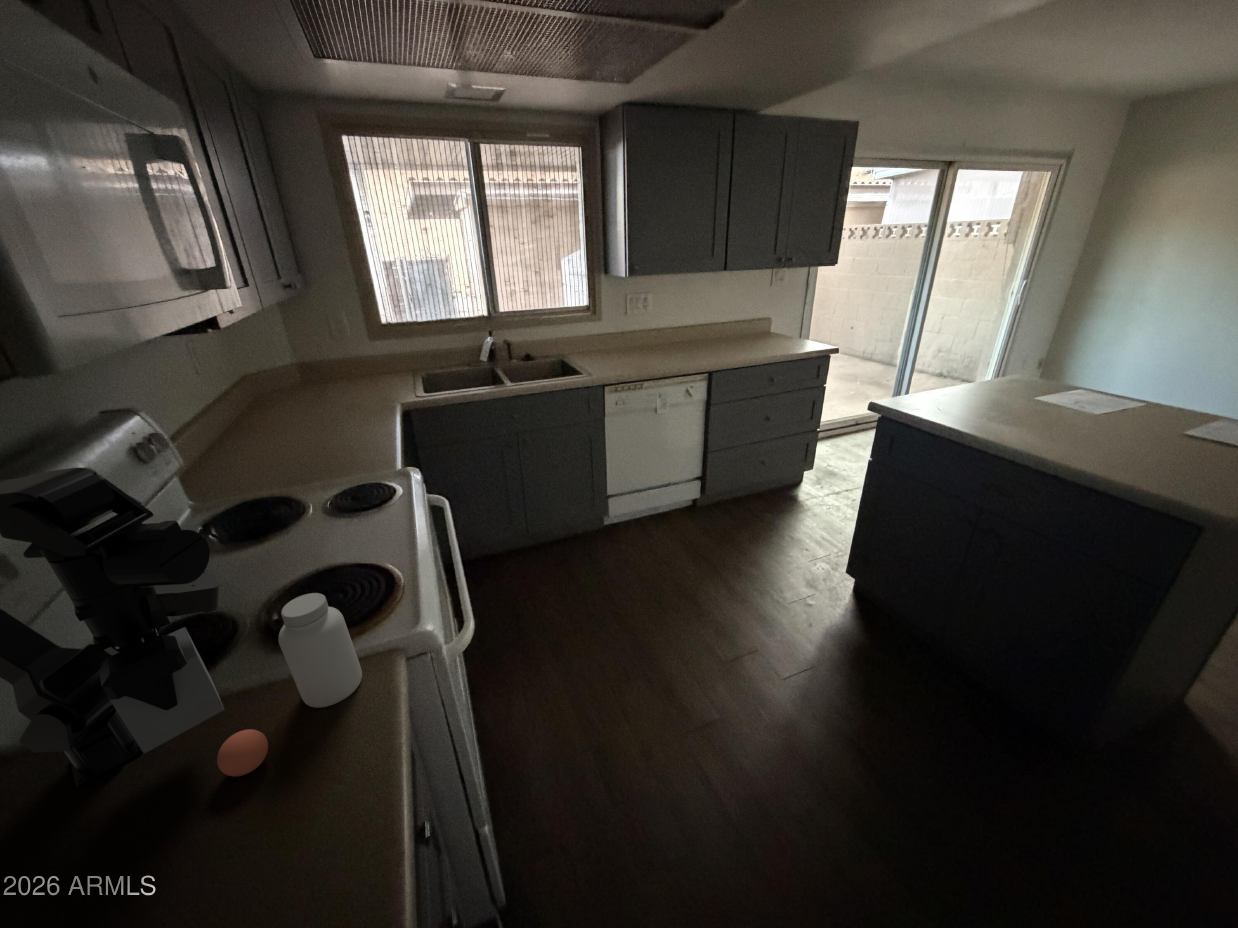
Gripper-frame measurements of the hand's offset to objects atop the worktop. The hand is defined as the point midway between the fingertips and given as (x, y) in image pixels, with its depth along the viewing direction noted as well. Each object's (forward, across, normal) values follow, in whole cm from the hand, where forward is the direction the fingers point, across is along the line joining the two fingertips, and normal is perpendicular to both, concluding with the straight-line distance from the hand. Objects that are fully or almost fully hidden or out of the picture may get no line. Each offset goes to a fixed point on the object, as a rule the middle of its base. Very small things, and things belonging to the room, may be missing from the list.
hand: (166, 689), depth 60 cm
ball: (+8, -8, -4) cm, 12 cm away
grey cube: (+4, 0, 0) cm, 4 cm away
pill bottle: (+11, -2, -15) cm, 19 cm away
